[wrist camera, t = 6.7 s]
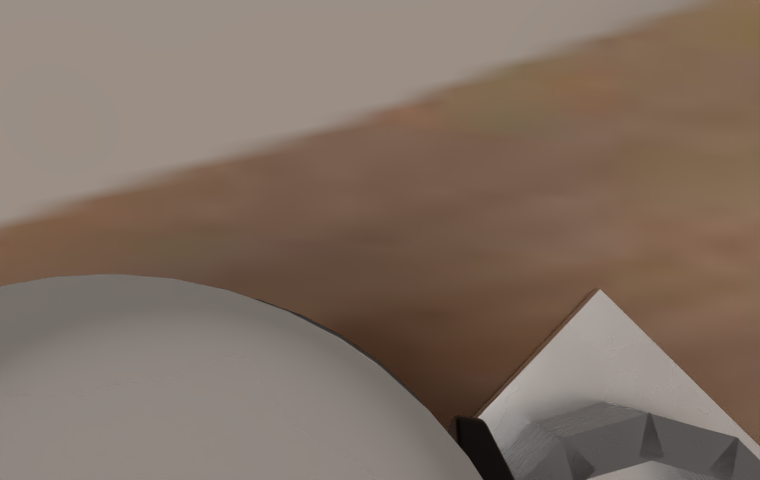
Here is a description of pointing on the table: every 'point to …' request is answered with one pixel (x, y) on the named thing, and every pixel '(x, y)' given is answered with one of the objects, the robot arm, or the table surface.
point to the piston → (198, 390)
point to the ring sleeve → (612, 409)
